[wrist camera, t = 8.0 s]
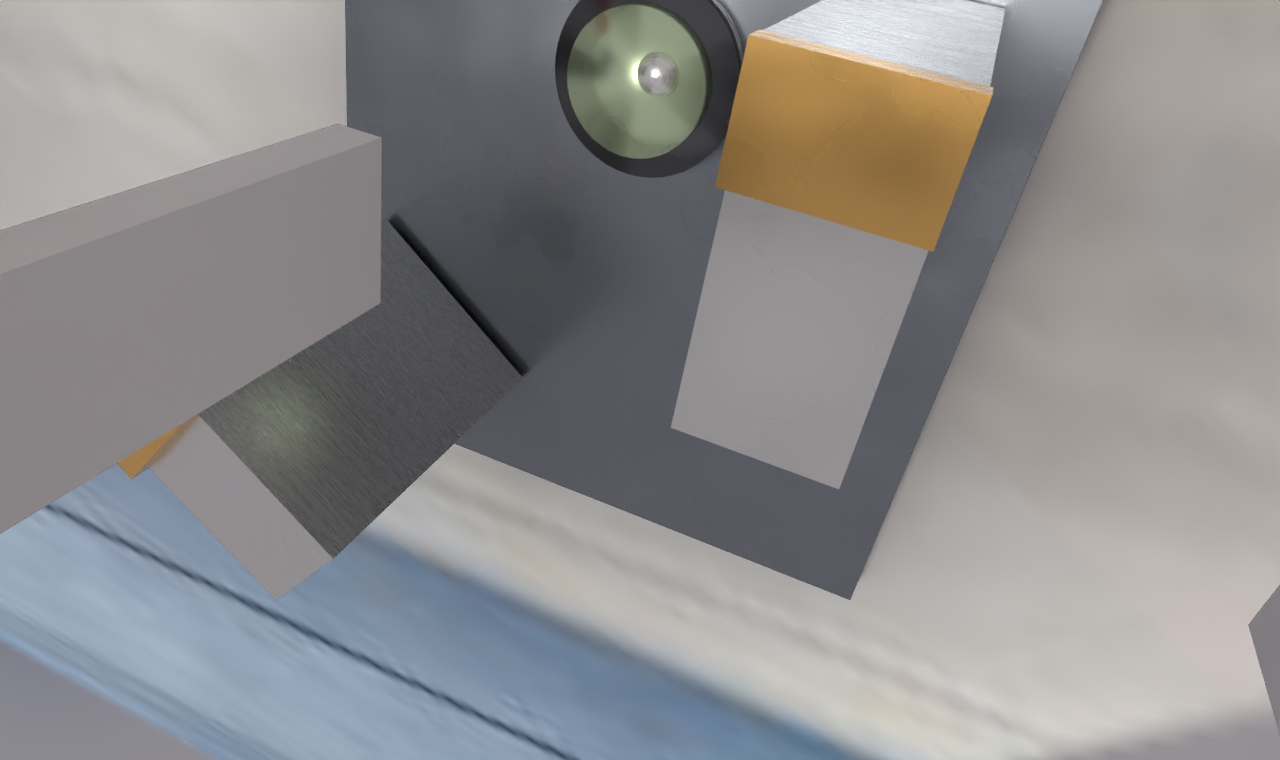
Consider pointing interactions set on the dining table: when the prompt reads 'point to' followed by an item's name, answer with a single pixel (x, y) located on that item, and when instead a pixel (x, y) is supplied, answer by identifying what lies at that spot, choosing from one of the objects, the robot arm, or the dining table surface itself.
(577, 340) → the board
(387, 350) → the orange and grey block
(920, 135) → the banded metal block
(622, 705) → the dining table surface
